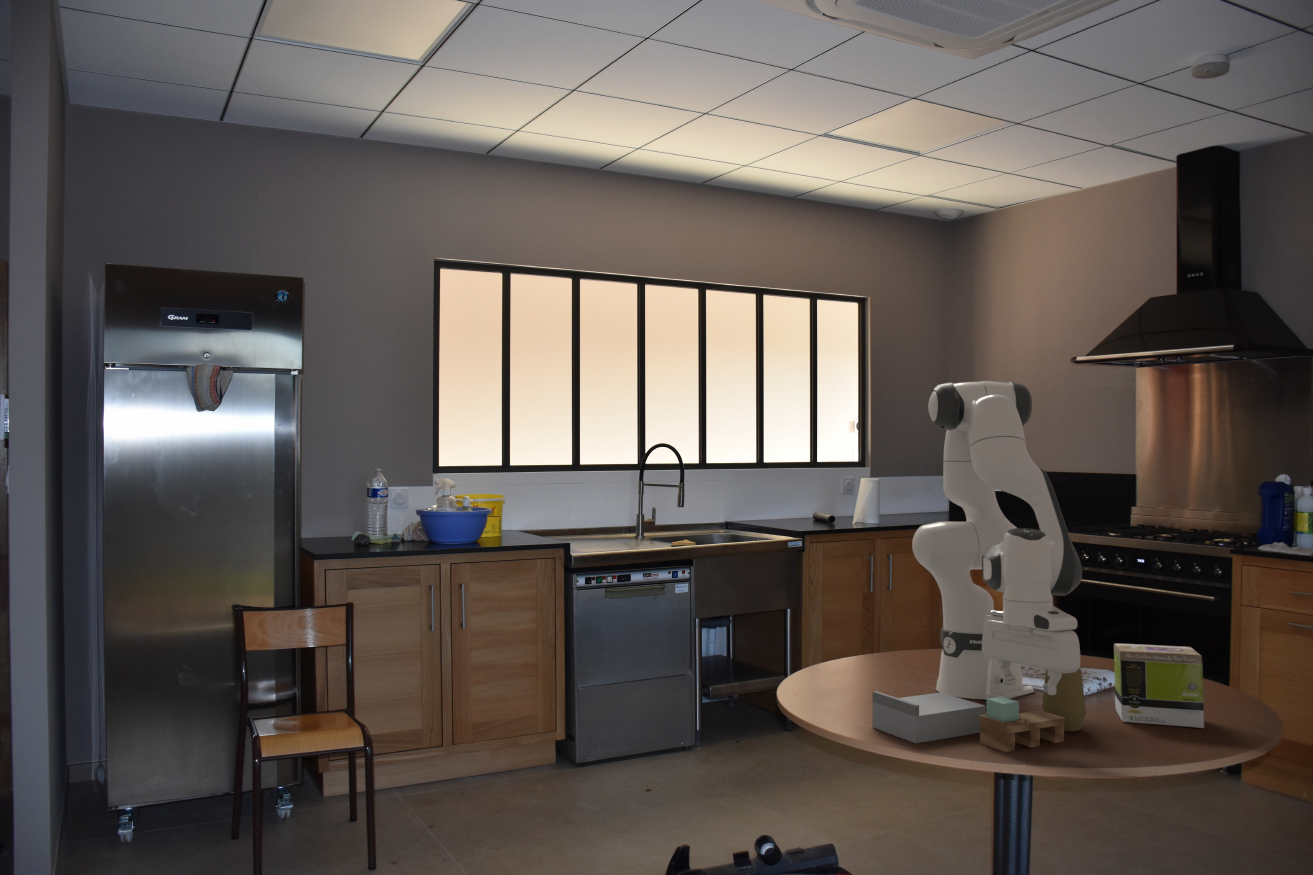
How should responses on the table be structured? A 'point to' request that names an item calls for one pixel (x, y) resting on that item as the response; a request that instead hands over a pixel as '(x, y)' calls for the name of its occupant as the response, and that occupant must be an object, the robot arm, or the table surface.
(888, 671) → the table surface
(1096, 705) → the table surface
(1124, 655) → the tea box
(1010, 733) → the pallet
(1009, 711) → the mint green cube
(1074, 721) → the squeeze bottle
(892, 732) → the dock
